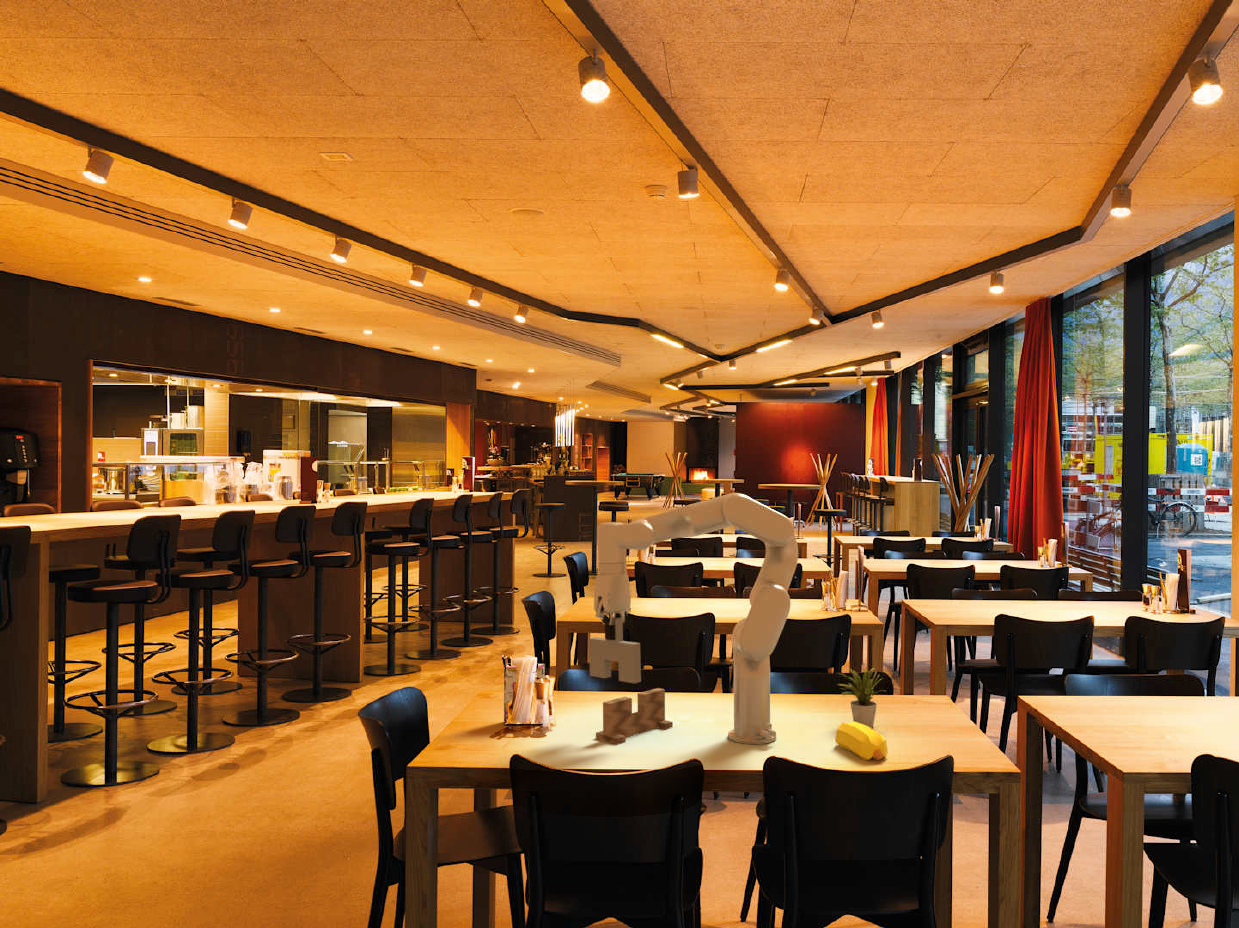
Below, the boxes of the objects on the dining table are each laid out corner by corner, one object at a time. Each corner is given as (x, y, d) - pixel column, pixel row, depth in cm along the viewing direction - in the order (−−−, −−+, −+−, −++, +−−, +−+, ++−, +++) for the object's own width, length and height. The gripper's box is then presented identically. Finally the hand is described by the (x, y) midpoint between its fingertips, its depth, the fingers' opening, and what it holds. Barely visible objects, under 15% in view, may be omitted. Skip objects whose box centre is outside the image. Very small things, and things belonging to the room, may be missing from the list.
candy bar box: (503, 726, 265) (503, 667, 265) (505, 721, 270) (505, 663, 270) (544, 725, 265) (543, 666, 265) (544, 720, 270) (544, 662, 270)
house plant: (846, 715, 274) (846, 658, 274) (894, 721, 267) (894, 663, 267) (830, 726, 262) (830, 667, 262) (880, 733, 255) (880, 672, 255)
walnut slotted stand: (650, 722, 268) (650, 686, 268) (672, 727, 262) (672, 690, 262) (595, 738, 252) (595, 700, 252) (617, 744, 246) (617, 705, 246)
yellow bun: (856, 741, 248) (829, 744, 246) (855, 716, 248) (829, 718, 246) (894, 762, 231) (866, 765, 229) (894, 734, 231) (866, 737, 229)
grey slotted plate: (641, 681, 247) (639, 620, 247) (634, 683, 245) (633, 621, 245) (596, 674, 258) (594, 614, 258) (589, 675, 256) (588, 616, 256)
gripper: (622, 565, 260) (623, 633, 260) (581, 571, 248) (582, 641, 248) (643, 567, 255) (644, 635, 255) (602, 572, 243) (603, 644, 243)
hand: (614, 638), depth 251 cm, fingers closed on grey slotted plate, 2 cm apart
